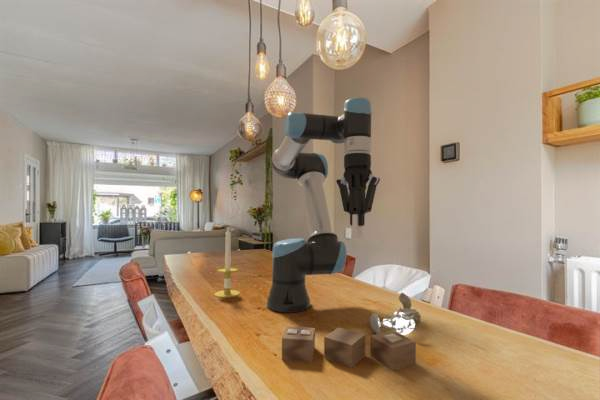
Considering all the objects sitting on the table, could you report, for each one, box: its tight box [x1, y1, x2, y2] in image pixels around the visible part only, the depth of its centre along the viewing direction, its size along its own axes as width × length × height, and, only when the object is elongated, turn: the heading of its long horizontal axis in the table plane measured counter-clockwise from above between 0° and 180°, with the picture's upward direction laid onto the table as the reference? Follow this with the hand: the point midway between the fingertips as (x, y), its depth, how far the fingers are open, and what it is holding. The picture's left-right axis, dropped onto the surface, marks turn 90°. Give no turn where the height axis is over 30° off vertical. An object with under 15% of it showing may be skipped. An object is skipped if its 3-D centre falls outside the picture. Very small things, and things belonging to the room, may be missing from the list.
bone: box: [397, 292, 422, 325], centre depth 92 cm, size 9×6×10 cm
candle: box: [214, 227, 241, 299], centre depth 121 cm, size 10×10×27 cm
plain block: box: [323, 327, 366, 369], centre depth 70 cm, size 7×7×5 cm
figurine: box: [369, 311, 416, 336], centre depth 84 cm, size 9×6×12 cm
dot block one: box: [370, 330, 417, 372], centre depth 69 cm, size 7×7×5 cm
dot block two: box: [281, 326, 316, 363], centre depth 72 cm, size 7×7×5 cm
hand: (357, 237), depth 85 cm, fingers closed
